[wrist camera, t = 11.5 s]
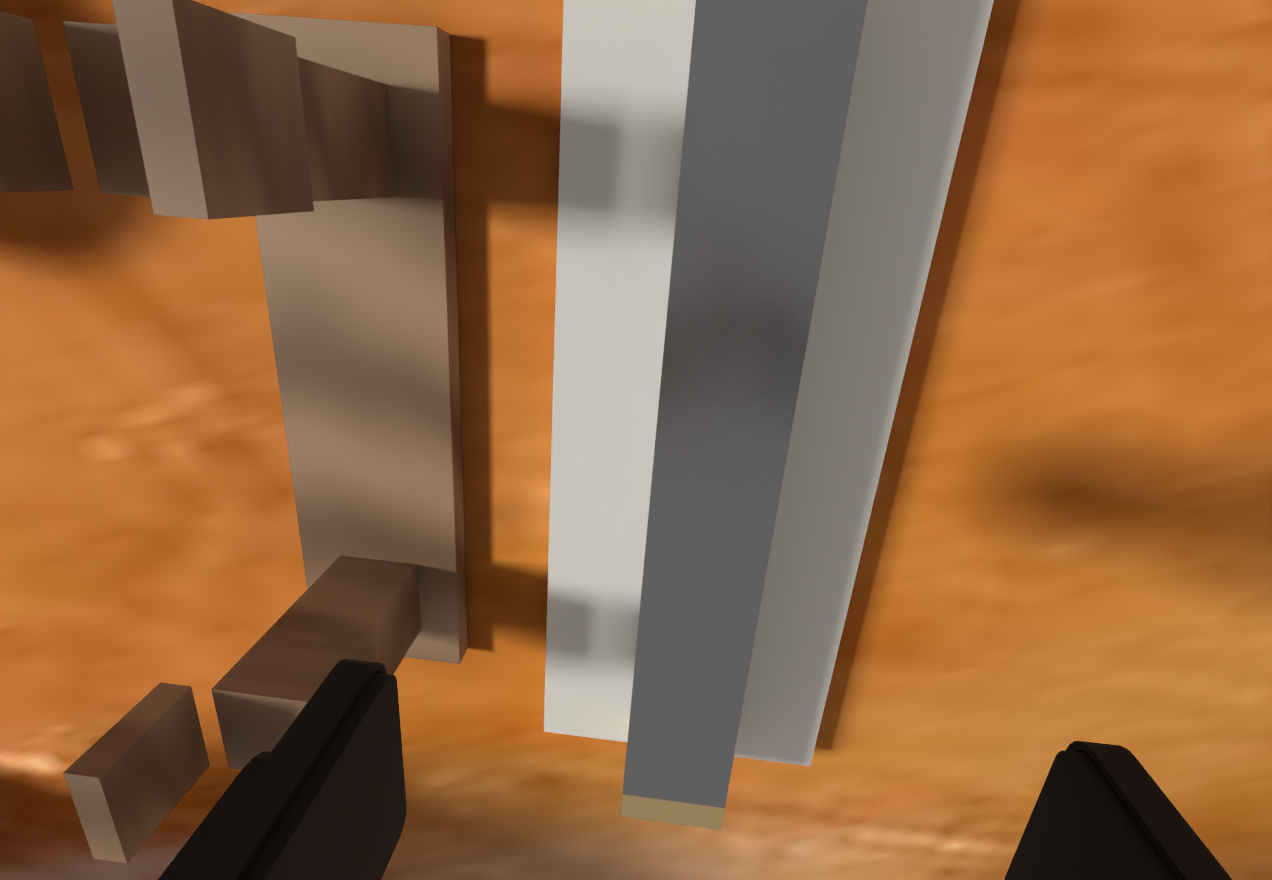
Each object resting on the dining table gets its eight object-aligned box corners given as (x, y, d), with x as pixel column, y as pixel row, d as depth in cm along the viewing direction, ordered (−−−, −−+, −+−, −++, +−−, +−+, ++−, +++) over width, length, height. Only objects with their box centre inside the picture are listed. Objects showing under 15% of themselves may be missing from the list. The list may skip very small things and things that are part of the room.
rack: (467, 647, 27) (326, 930, 17) (328, 630, 27) (107, 897, 17) (449, 34, 19) (148, -144, 8) (249, 20, 19) (-272, -166, 9)
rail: (718, 748, 26) (720, 830, 23) (630, 736, 27) (620, 816, 23) (850, -63, 16) (889, -127, 13) (706, -71, 16) (708, -136, 13)
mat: (806, 746, 27) (810, 766, 26) (549, 713, 28) (544, 731, 27) (995, -64, 17) (1012, -78, 16) (573, -88, 17) (566, -103, 16)
